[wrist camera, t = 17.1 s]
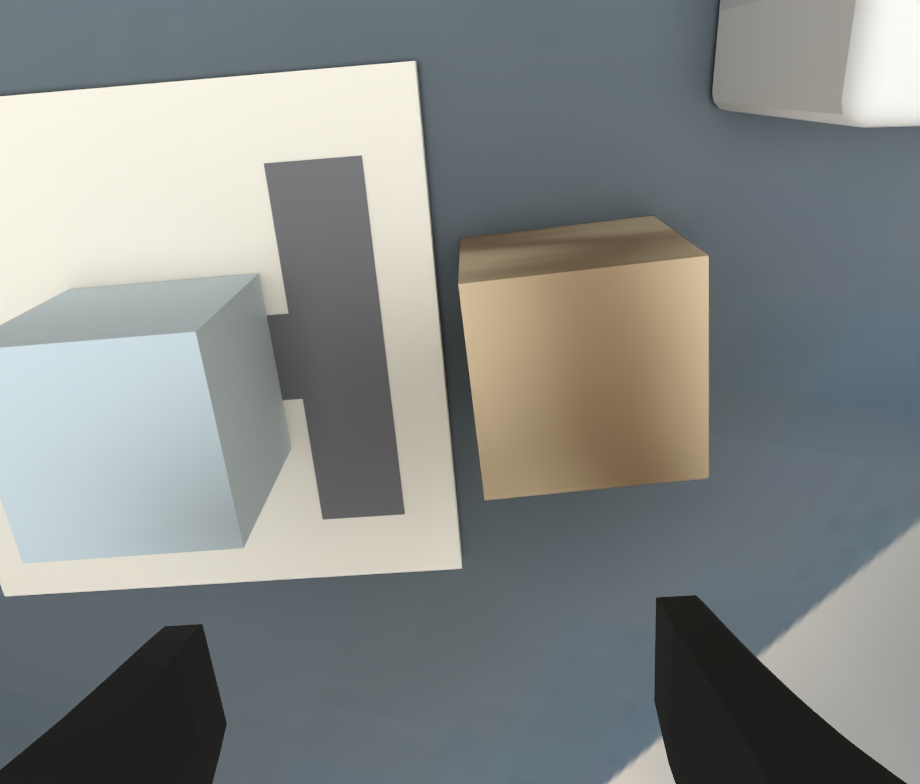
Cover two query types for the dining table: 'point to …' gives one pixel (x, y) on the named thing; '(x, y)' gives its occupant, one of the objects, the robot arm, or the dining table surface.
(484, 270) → the oak block
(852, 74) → the container
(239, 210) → the letter card
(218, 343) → the pale blue cube
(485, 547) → the dining table surface
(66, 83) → the dining table surface
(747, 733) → the robot arm
